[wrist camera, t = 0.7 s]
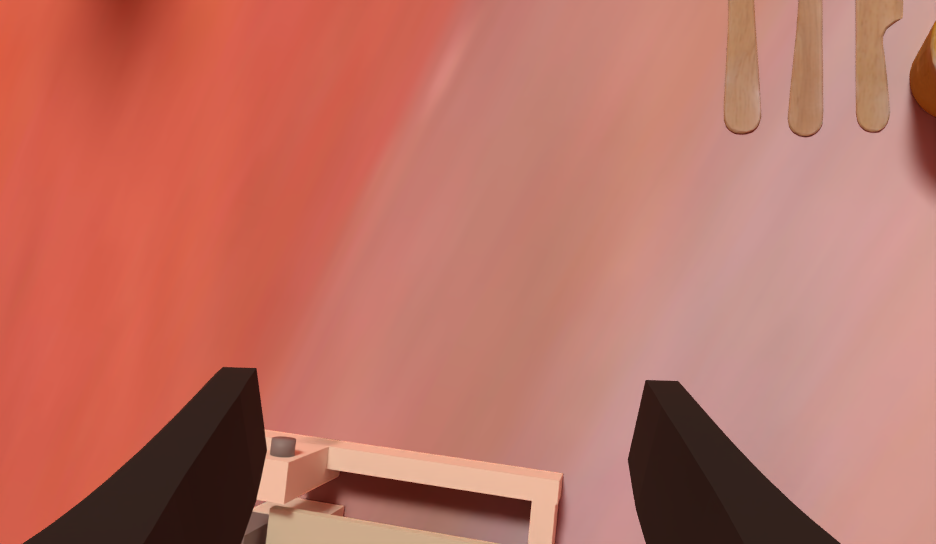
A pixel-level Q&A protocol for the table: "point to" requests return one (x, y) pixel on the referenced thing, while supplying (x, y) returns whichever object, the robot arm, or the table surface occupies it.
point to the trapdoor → (335, 530)
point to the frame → (398, 476)
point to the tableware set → (875, 12)
